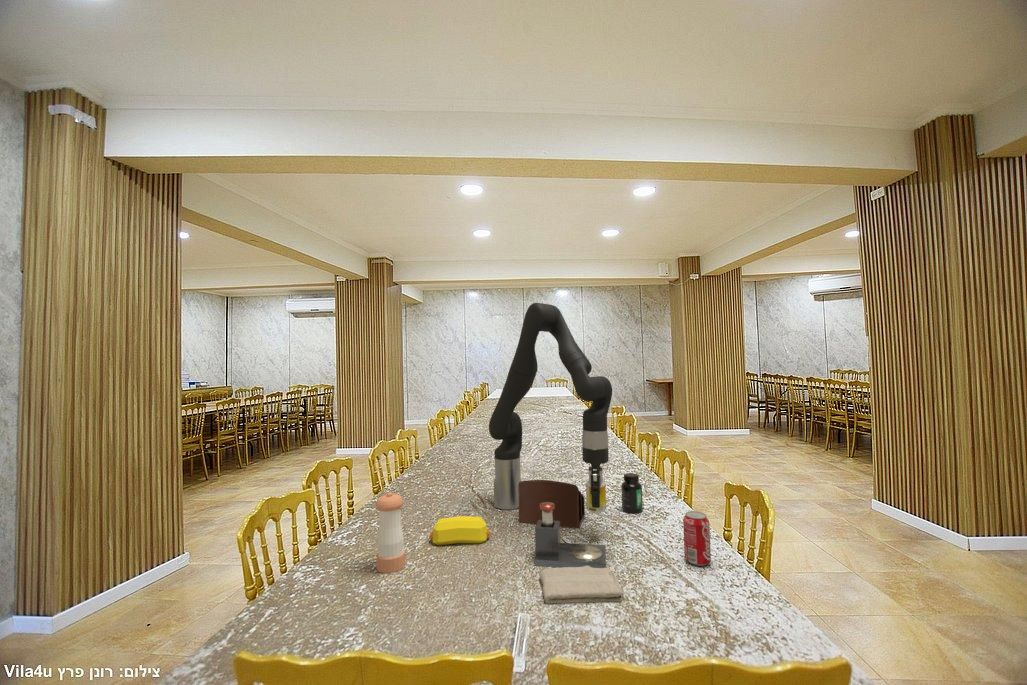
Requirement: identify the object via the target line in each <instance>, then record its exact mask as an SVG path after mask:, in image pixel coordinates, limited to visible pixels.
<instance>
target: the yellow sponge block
mask: <svg viewBox="0 0 1027 685" xmlns="http://www.w3.org/2000/svg"><path fill="white" fill-rule="evenodd" d="M490 536H491V531H490V529H489V528H488V527H487V524H486V521H485V520H484V519H483V518H482V517H481V516H470V515H469V516H468V515H467V516H466V515H465V516H464V515H463V516H462V515H461V516H452V517H444V518H443V517H442V518H439V519H438V520H437V522H436V523H435V524H434V526H433V528H432V531H431V532H430V534H429V539H430V541H432V544H435V545H437V546H444V545H445V546H447V545H455V544H482V543H484V542H485V541H487V540H488V539H489V538H490Z"/></svg>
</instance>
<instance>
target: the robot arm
mask: <svg viewBox="0 0 1027 685" xmlns="http://www.w3.org/2000/svg"><path fill="white" fill-rule="evenodd" d="M540 332H544V333H550V335H551V336H552V337H553V338H554V339H555V340H556V342H557V347H558V355H559V359H560V361H561V363H562V365H563V367H564V368H565V370H566V371H567V372H568V374H569V375H570V377H571V381H572V384H573V387H574V391H575V393H576V395H577V396H578V397H579V398H580V399H581V400H582V401H585V402H586V403H590V402H592V403H591V405H590V407H589V408H586V409H585V410H584V411H583V413H582V435H581V436H582V437H581V440H582V441H581V445H582V446H581V447H582V448H581V451H582V452H581V453H582V454H581V455H582V456H581V457H582V458H581V459H582V461H583V463H586V464H589V465H590V466H589V467H588V480H589V484H590V485H591V494H592V507H595V508H599V507H600V486H601V485H602V475H603V467H602V466H601V465H605V464H607V463H608V462H609V459H610V458H609V456H610V455H609V435H608V434H609V433H608V414H609V411H610V407H611V401H612V396H613V387H612V383H611V381H610V380H609V378H607V377H605V376H602V375H601V376H597V375H596V376H590V373H591V372H592V369H593V368H592V367H593V366H592V363H591V362H590V360H589V359H588V357H587V356H586V355H585V353H584V352H583V350H582V349H581V348H580V346H579V345H578V344H577V342H576V341H575V339H574V337H573V334H572V332H571V330H570V328H569V327H568V325H567V322H566V319H565V318H564V316H563V313H562V311H561V310H560V309H559V308H558V306H555V305H553V304H550V303H542V302H533V303H531V304H530V305H529V306H528V308H527V309H526V312H525V316H524V319H523V323H522V328H521V331H520V334H519V340H518V344H517V347H516V350H515V352H514V355H513V359H512V362H511V363H510V367H509V370H508V373H507V377H506V381H505V383H504V385H503V387H502V390H501V394H500V397H499V399H498V401H497V404H496V406H495V408H494V409H493V411H492V414H491V416H490V419H489V423H488V431H489V435H490V436H491V438H492V439H494V440H497V441H500V440H501V443H500V444H499V445H498V446H497V447H496V448H495V449H494V451H493V452H494V456H493V458H494V475H495V476H494V479H493V504H494V506H493V507H494V508H497V509H499V510H500V509H501V510H508V511H509V510H515V509H519V493H518V484H519V482H521V481H522V480H521V476H522V475H521V451H522V448H523V423H522V419H521V417H520V415H519V414H518V413H517V412H515V409H516V408H517V406H518V405H519V403H520V402H521V401H522V400H523V398H525V396H526V395H527V394H528V393H529V391H530V389H532V387H533V384H534V382H535V379H536V376H537V373H538V367H539V366H538V359H537V354H536V343H537V340H538V336H539V334H540ZM593 487H598V490H594V489H593Z"/></svg>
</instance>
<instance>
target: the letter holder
mask: <svg viewBox="0 0 1027 685" xmlns="http://www.w3.org/2000/svg"><path fill="white" fill-rule="evenodd" d="M518 493H519V508H518V522H519V523H522V524H531V525H536V524H537V522H538V520H542V510H541V509H540V503H543V502H551V503H554V504H555V509H554V510H553V521H560V528H562V527H564V528H571V529H580V527H581V525H582V524H583V522H584V520H585V517H586V515H585V514H586V513H585V512H586V510H585V496H584V495H583V494H582V492H581V491H580V490H579V487H578V486H577V485H576V484H573V483H569V482H563V481H558V480H547V479H532V480H531V479H530V480H521V482H519V484H518Z"/></svg>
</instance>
